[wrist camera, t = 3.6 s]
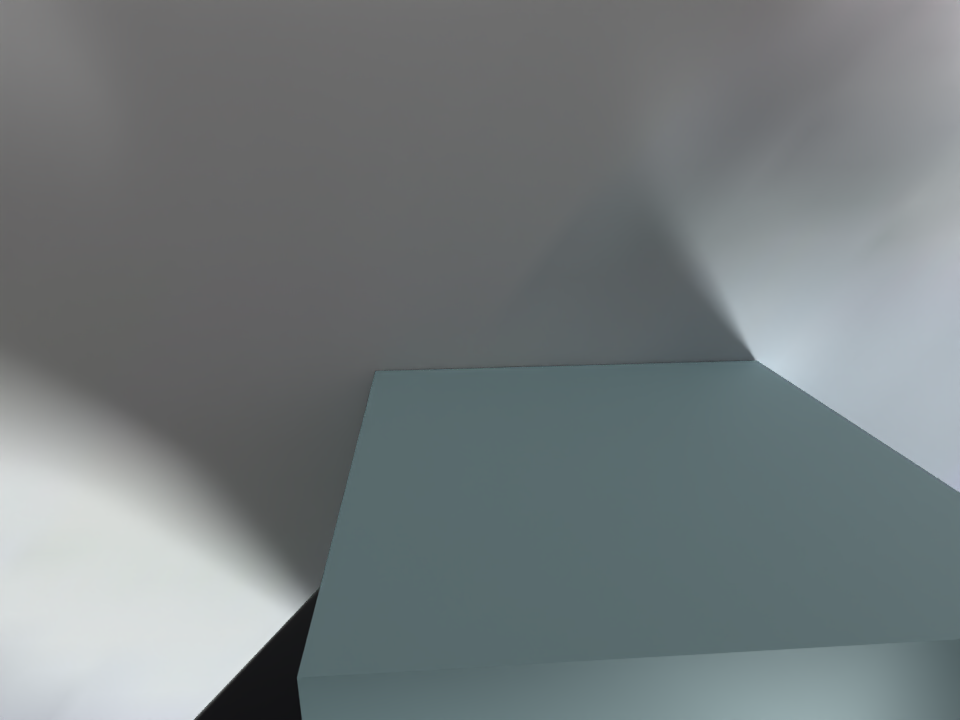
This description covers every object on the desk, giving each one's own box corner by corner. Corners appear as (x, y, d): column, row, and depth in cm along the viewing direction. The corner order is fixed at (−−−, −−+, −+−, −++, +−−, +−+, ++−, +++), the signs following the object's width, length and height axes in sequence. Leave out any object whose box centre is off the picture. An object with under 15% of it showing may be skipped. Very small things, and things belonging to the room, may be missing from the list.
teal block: (394, 682, 10) (357, 1192, 5) (375, 371, 8) (298, 676, 3) (715, 664, 10) (966, 1123, 5) (756, 360, 8) (1167, 627, 4)
